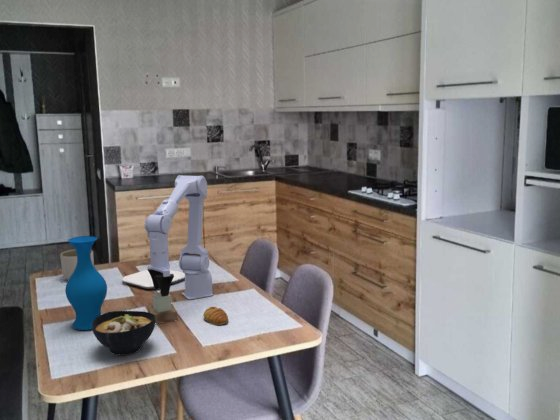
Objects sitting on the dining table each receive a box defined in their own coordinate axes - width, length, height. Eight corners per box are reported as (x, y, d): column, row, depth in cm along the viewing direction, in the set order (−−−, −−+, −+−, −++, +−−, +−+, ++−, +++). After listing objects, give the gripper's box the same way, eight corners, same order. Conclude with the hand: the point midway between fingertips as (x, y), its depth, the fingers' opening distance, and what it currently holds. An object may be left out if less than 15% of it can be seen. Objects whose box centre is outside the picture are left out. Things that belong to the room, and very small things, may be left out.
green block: (166, 306, 179) (165, 291, 179) (171, 310, 176) (170, 295, 175) (153, 308, 177) (152, 293, 176) (158, 312, 173) (157, 297, 173)
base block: (172, 313, 182) (172, 303, 182) (177, 321, 175) (176, 311, 174) (148, 316, 179) (147, 306, 179) (152, 325, 172) (151, 315, 172)
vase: (89, 315, 180) (83, 233, 175) (117, 322, 174) (112, 237, 170) (59, 328, 170) (52, 241, 165) (88, 335, 164) (82, 245, 159)
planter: (72, 273, 228) (70, 248, 226) (100, 274, 226) (98, 249, 224) (56, 282, 216) (54, 256, 214) (85, 283, 214) (83, 257, 212)
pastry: (233, 323, 173) (233, 312, 172) (215, 328, 169) (214, 317, 168) (219, 314, 180) (218, 303, 179) (201, 319, 176) (200, 308, 176)
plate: (157, 271, 231) (156, 266, 231) (191, 279, 219) (191, 274, 219) (117, 283, 215) (116, 278, 214) (152, 293, 203) (152, 287, 202)
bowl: (120, 333, 165) (118, 302, 163) (168, 341, 159) (167, 309, 157) (80, 356, 150) (77, 322, 148) (131, 367, 143) (129, 331, 141)
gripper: (140, 248, 178) (143, 288, 180) (153, 258, 165) (155, 301, 168) (162, 245, 181) (164, 284, 183) (175, 255, 168) (177, 297, 171)
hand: (161, 292), depth 176 cm, fingers open, 7 cm apart
